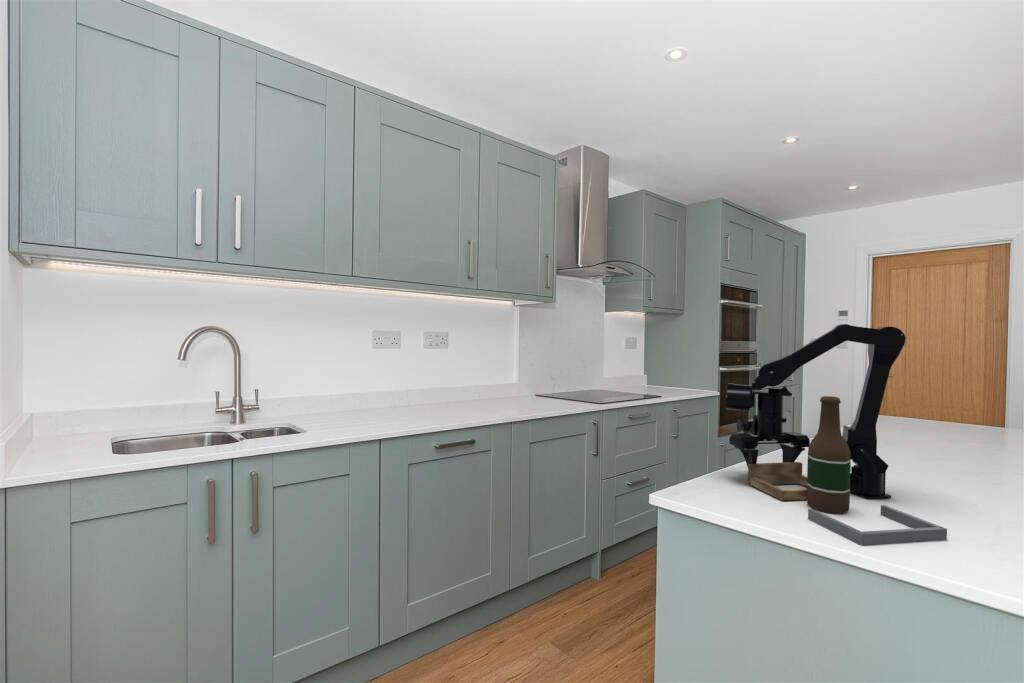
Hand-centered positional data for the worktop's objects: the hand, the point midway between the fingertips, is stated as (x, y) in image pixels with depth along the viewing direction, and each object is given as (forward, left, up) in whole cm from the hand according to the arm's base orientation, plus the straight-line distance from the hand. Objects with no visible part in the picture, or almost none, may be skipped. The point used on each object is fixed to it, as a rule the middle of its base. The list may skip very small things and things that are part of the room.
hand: (768, 474), depth 125 cm
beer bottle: (0, +19, -2) cm, 19 cm away
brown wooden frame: (0, +8, -2) cm, 8 cm away
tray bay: (0, +30, -2) cm, 30 cm away
